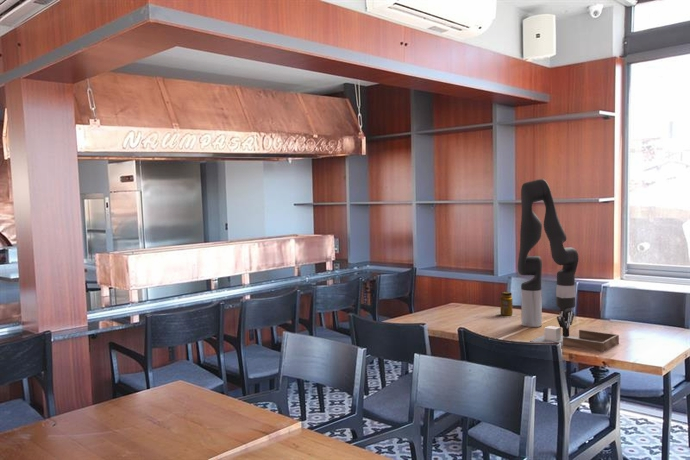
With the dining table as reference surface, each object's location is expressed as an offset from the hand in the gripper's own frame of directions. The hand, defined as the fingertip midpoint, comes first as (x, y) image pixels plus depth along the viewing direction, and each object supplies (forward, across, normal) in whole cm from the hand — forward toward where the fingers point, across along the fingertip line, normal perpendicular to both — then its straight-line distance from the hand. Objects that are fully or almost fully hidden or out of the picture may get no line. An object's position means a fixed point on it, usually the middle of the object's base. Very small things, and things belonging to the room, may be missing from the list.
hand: (565, 336), depth 245 cm
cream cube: (+2, +1, -5) cm, 6 cm away
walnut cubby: (+2, 0, +10) cm, 11 cm away
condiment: (+3, -38, -47) cm, 61 cm away
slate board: (+3, 0, +4) cm, 4 cm away
